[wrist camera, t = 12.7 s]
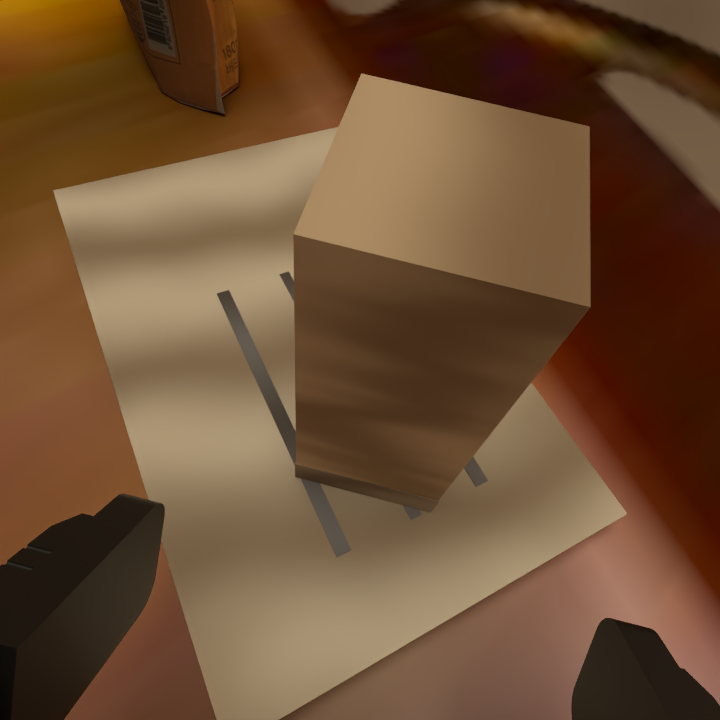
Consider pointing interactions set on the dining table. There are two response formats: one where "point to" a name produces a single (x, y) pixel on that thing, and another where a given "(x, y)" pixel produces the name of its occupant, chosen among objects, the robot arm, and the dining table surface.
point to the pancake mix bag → (188, 47)
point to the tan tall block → (431, 283)
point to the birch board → (287, 441)
